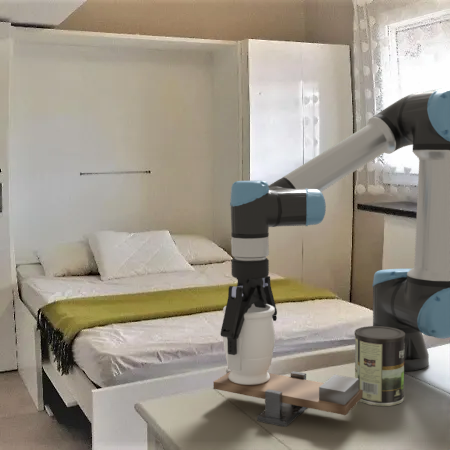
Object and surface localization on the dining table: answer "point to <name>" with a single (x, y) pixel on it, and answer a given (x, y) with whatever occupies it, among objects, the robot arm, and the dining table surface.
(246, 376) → the jar
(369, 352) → the coffee can
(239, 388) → the beam
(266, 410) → the pivot stand
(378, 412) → the dining table surface
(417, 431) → the dining table surface
